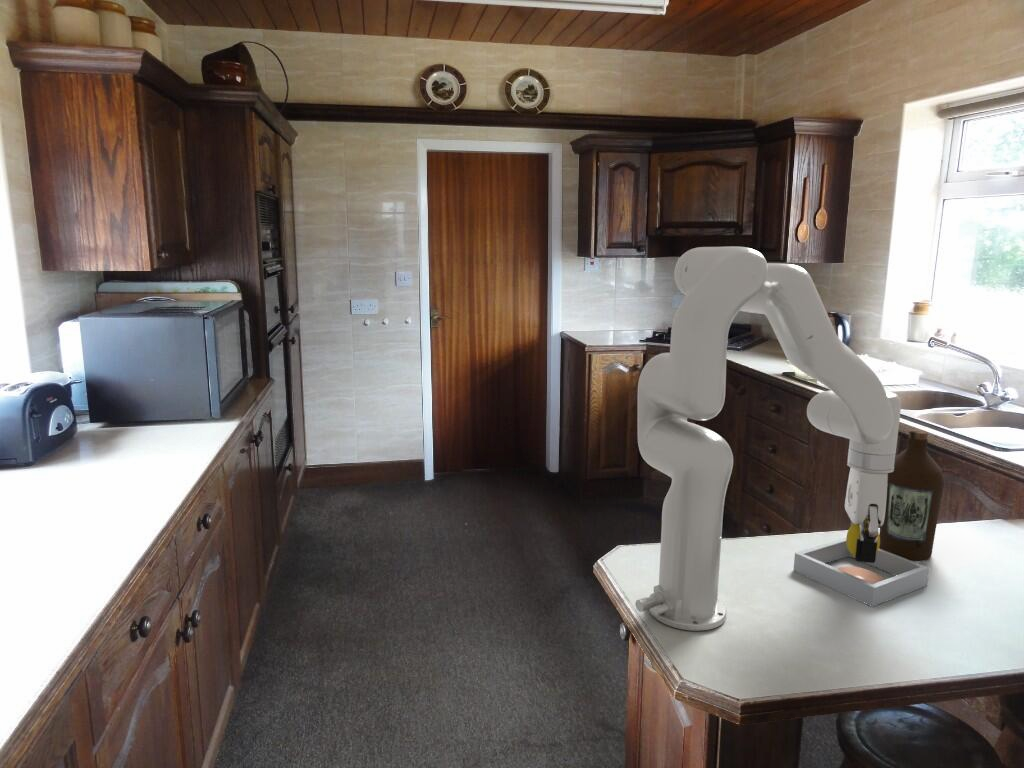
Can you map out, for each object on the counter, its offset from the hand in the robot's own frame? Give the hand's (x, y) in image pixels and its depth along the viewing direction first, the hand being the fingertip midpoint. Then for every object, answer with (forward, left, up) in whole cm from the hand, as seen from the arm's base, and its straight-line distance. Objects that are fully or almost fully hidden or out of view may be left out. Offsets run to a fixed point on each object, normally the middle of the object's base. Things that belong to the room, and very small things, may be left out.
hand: (861, 553), depth 129 cm
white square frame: (0, 0, -5) cm, 5 cm away
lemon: (0, 0, -2) cm, 2 cm away
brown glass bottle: (+19, +3, -5) cm, 20 cm away
